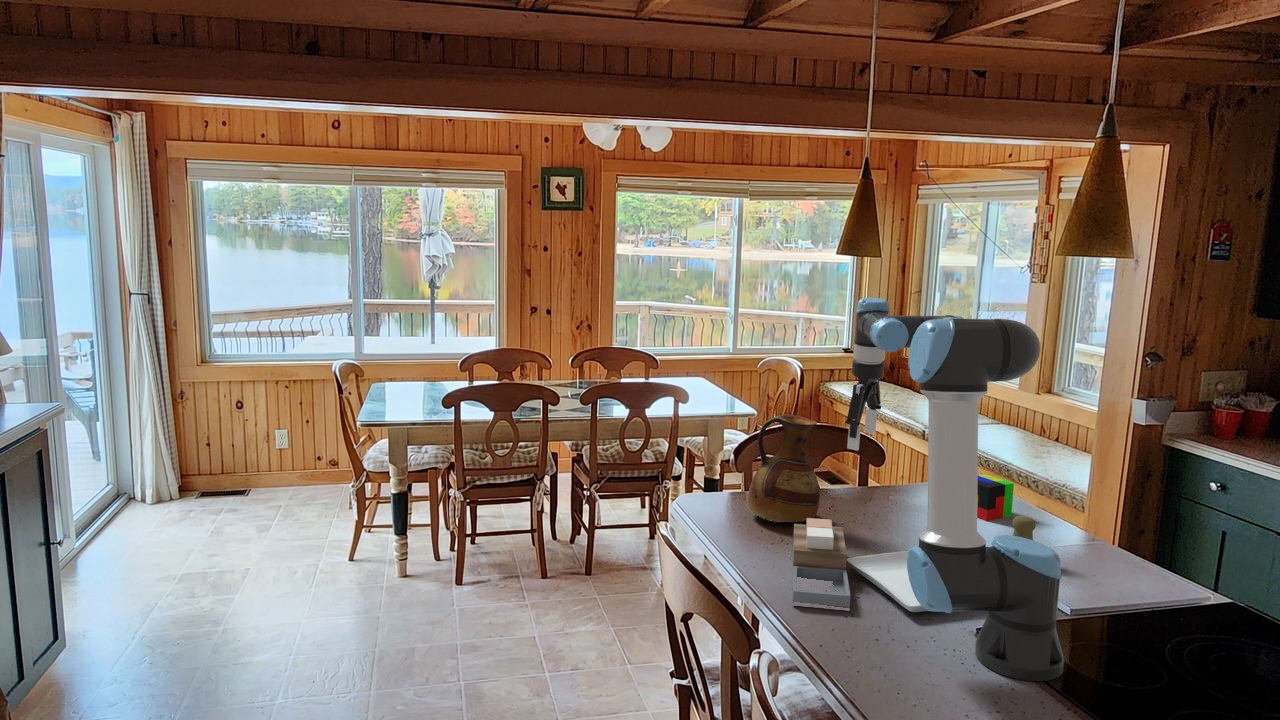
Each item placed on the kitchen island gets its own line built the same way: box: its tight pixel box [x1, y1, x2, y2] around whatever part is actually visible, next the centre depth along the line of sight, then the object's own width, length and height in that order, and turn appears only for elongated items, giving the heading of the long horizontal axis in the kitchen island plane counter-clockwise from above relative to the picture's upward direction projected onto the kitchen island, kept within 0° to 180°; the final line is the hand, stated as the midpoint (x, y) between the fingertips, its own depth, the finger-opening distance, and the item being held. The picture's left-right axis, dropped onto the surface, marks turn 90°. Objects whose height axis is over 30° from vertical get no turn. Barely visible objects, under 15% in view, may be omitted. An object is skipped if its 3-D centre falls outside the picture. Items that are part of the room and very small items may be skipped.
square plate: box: [846, 550, 929, 613], centre depth 185 cm, size 27×27×4 cm
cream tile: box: [807, 527, 834, 550], centre depth 192 cm, size 6×6×3 cm
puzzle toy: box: [977, 473, 1015, 522], centre depth 235 cm, size 10×10×10 cm
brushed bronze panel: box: [792, 523, 848, 571], centre depth 197 cm, size 18×12×7 cm, turn 169°
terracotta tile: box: [805, 517, 833, 538], centre depth 199 cm, size 6×6×3 cm
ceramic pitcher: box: [747, 413, 821, 523], centre depth 229 cm, size 20×20×30 cm
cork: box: [1012, 515, 1036, 541], centre depth 201 cm, size 6×6×11 cm
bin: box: [792, 565, 851, 609], centre depth 181 cm, size 14×12×4 cm
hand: (861, 441), depth 206 cm, fingers open, 13 cm apart
